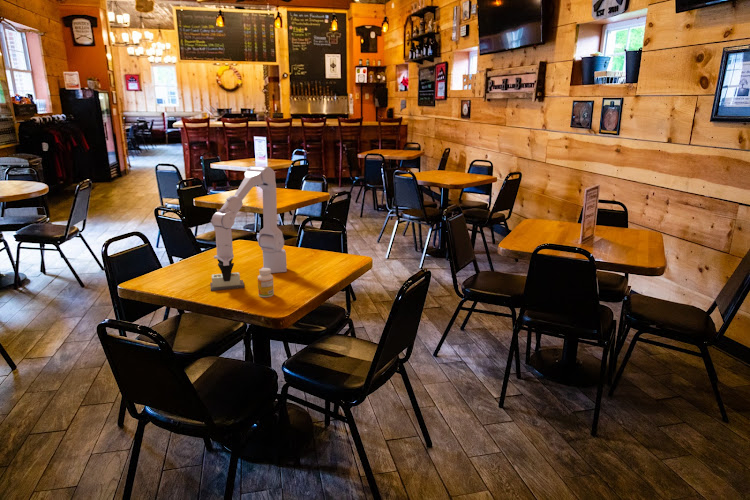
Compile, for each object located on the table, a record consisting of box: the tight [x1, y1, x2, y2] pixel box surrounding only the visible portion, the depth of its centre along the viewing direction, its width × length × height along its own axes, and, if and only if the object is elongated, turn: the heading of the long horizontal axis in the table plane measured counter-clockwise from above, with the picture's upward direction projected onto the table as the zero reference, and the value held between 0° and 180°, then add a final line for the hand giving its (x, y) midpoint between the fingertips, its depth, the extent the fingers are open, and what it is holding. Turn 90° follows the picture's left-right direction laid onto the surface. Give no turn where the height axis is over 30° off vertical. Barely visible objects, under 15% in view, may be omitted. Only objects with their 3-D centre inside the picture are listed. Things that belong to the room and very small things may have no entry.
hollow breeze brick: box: [211, 272, 241, 287], centre depth 190 cm, size 10×5×4 cm, turn 108°
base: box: [210, 274, 245, 292], centre depth 191 cm, size 12×7×4 cm, turn 108°
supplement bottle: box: [257, 267, 275, 298], centre depth 181 cm, size 5×5×10 cm
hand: (226, 278), depth 190 cm, fingers closed on hollow breeze brick, 5 cm apart
